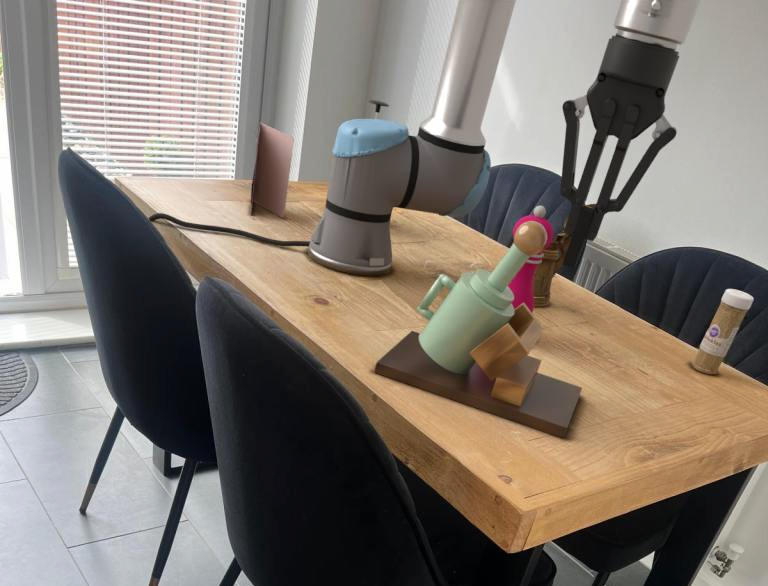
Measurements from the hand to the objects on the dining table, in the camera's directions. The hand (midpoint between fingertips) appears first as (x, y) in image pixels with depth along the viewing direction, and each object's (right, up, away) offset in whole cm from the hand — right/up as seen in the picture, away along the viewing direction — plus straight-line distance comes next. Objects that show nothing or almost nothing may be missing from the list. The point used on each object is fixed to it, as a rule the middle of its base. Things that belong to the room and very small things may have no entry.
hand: (569, 264), depth 92 cm
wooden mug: (+6, +10, +51) cm, 52 cm away
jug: (-10, -11, +11) cm, 19 cm away
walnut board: (-9, -13, +12) cm, 20 cm away
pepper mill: (-3, -1, +31) cm, 32 cm away
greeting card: (-47, +31, +63) cm, 84 cm away
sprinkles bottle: (+32, -6, +37) cm, 49 cm away
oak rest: (-7, -13, +10) cm, 18 cm away
